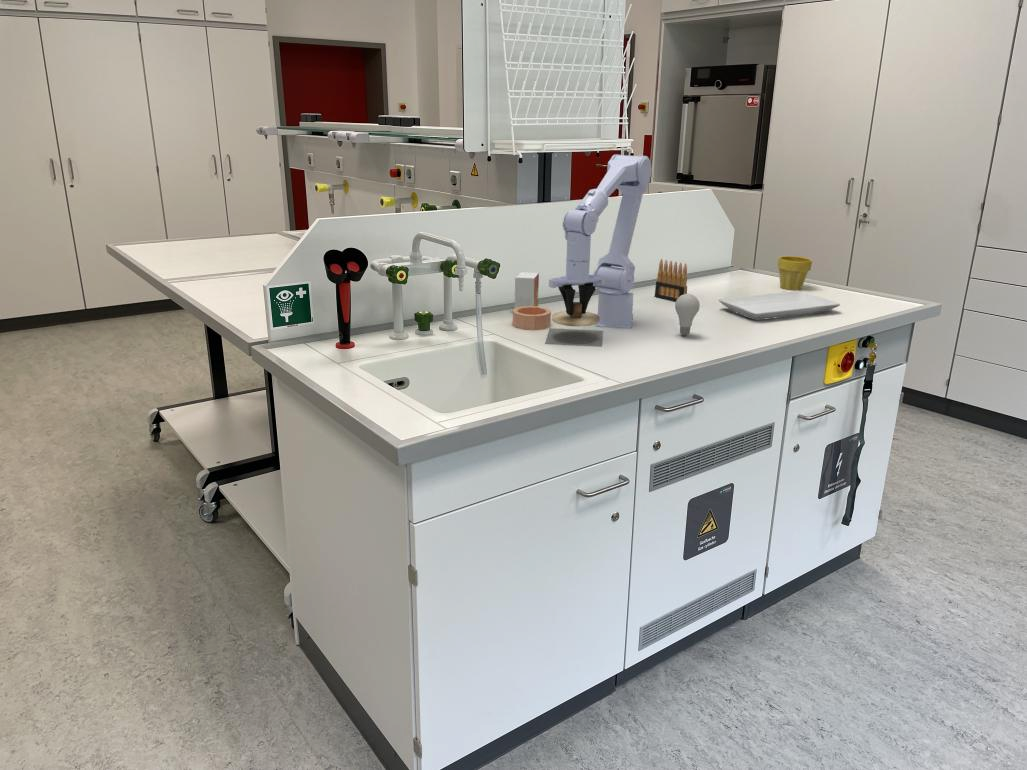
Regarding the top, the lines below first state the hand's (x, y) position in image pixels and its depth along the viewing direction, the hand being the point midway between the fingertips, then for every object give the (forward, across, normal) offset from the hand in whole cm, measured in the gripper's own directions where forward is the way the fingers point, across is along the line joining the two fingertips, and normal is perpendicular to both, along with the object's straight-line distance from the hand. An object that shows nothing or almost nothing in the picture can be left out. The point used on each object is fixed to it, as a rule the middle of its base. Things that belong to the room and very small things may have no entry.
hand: (575, 313), depth 191 cm
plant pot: (+7, -93, -28) cm, 98 cm away
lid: (+2, 0, 0) cm, 2 cm away
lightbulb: (+7, -28, +8) cm, 30 cm away
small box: (+7, +1, -29) cm, 30 cm away
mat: (+6, 0, 0) cm, 6 cm away
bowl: (+6, +6, -14) cm, 17 cm away
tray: (+7, -68, -5) cm, 69 cm away
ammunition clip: (+7, -46, -27) cm, 54 cm away
